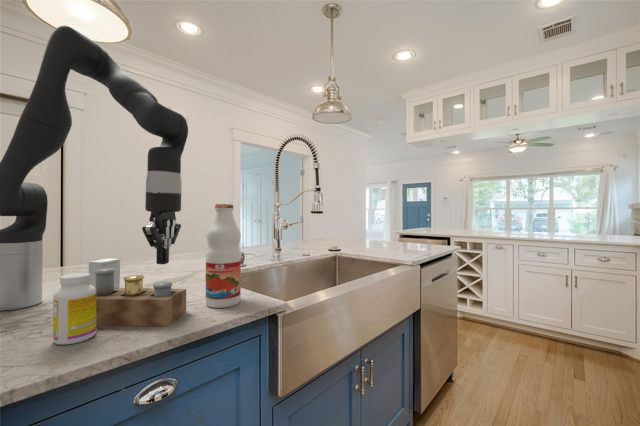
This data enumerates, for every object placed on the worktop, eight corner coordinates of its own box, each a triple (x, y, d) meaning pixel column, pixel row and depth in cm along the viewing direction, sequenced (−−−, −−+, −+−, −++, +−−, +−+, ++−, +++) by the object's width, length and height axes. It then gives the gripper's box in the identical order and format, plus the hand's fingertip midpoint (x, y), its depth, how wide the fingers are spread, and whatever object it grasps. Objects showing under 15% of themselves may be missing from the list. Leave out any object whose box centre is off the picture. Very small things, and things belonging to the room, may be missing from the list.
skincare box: (100, 307, 76) (100, 262, 76) (87, 305, 77) (87, 261, 77) (120, 300, 82) (120, 258, 82) (108, 298, 83) (108, 258, 83)
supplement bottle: (104, 331, 61) (104, 271, 61) (79, 346, 54) (79, 279, 54) (72, 331, 61) (72, 271, 61) (43, 346, 54) (43, 279, 54)
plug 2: (149, 315, 66) (149, 285, 66) (159, 309, 70) (159, 281, 70) (166, 316, 66) (166, 285, 66) (175, 310, 70) (175, 281, 70)
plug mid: (119, 308, 66) (119, 278, 66) (131, 303, 70) (131, 274, 70) (136, 309, 66) (136, 278, 66) (147, 303, 70) (147, 274, 70)
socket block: (74, 325, 64) (74, 298, 64) (104, 311, 73) (104, 287, 73) (167, 326, 64) (167, 299, 64) (186, 312, 73) (186, 288, 73)
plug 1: (89, 301, 66) (90, 271, 66) (103, 296, 70) (103, 268, 70) (106, 302, 66) (107, 271, 66) (119, 296, 70) (119, 268, 70)
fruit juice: (244, 298, 85) (245, 204, 85) (235, 309, 76) (235, 204, 75) (212, 297, 85) (213, 204, 85) (199, 308, 76) (200, 203, 75)
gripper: (163, 193, 75) (162, 258, 75) (129, 189, 62) (128, 269, 62) (192, 193, 75) (190, 259, 75) (164, 190, 61) (162, 270, 62)
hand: (162, 263), depth 68 cm, fingers closed
